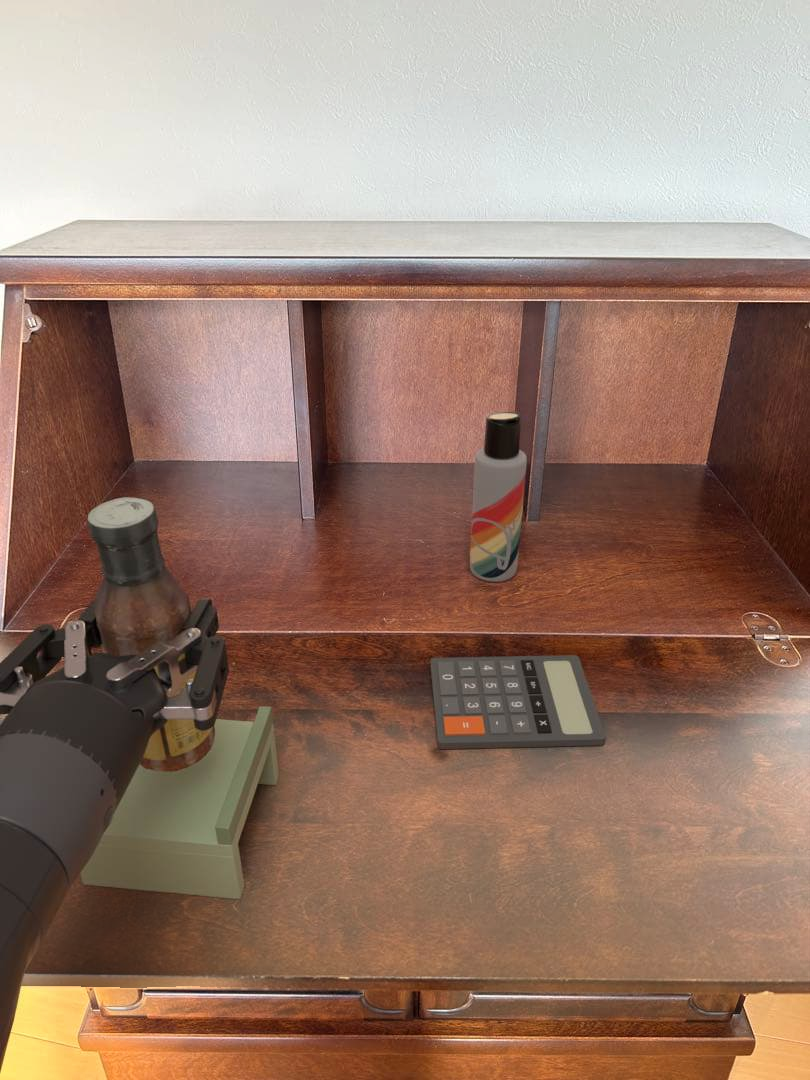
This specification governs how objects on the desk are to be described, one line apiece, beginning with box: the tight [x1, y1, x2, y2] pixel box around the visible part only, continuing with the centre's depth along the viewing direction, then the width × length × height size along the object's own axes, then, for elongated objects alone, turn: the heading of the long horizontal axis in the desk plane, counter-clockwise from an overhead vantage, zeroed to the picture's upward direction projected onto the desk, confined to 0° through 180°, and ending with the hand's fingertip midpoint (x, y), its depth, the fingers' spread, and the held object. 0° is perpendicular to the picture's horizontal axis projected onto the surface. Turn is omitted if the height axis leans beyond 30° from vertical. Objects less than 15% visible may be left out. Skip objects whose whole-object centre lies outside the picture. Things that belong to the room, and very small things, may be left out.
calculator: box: [429, 654, 607, 750], centre depth 76 cm, size 12×1×15 cm
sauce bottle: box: [87, 496, 215, 772], centre depth 55 cm, size 7×6×20 cm
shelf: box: [79, 706, 280, 900], centre depth 62 cm, size 12×12×8 cm
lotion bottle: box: [469, 411, 528, 583], centre depth 91 cm, size 6×6×20 cm
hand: (160, 606), depth 56 cm, fingers closed on sauce bottle, 6 cm apart
